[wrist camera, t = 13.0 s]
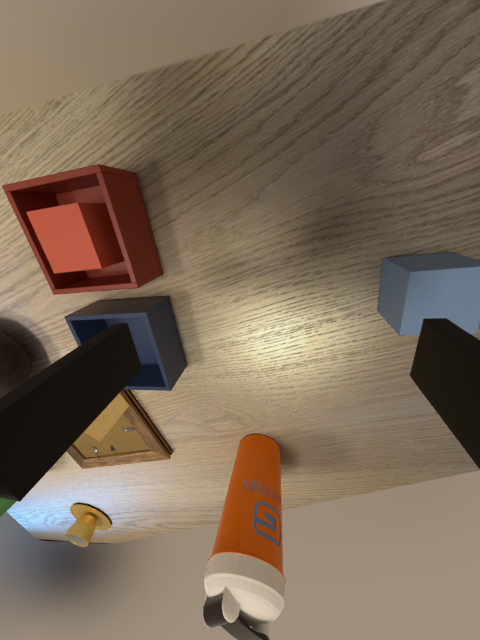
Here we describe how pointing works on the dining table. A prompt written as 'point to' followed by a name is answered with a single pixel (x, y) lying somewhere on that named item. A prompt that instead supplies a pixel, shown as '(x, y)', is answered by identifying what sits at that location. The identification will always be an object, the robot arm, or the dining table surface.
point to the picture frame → (119, 437)
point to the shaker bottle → (248, 546)
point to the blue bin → (138, 336)
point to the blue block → (430, 291)
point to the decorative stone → (12, 365)
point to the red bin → (125, 216)
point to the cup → (85, 524)
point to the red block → (77, 236)
